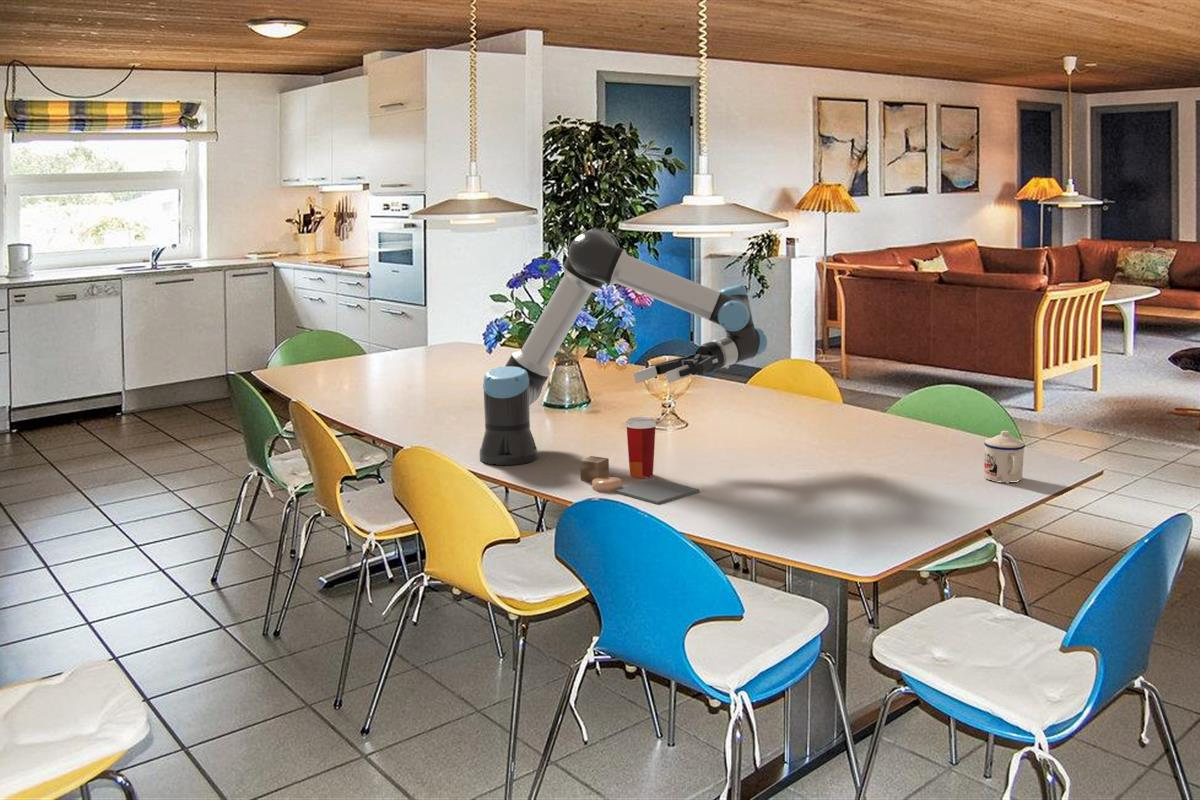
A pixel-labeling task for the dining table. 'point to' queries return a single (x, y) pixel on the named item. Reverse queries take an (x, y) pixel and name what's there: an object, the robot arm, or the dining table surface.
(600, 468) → the walnut block
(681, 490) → the mat
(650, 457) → the paper cup
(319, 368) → the dining table surface
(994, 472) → the teacup with lid
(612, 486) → the tan rounded disc
